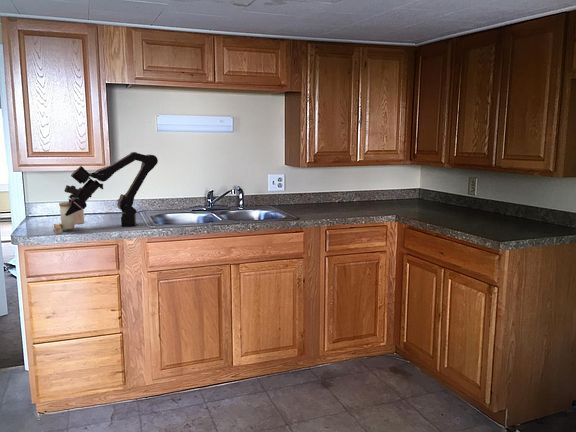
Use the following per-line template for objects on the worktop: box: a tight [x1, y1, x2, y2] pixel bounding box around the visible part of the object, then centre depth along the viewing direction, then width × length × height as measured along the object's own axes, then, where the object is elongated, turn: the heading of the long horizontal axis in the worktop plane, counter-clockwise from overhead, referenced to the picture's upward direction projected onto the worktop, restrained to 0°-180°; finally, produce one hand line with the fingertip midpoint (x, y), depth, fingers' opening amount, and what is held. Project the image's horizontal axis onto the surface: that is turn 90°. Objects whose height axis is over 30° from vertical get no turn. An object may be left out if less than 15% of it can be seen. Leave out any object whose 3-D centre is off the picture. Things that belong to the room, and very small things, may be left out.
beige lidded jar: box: [73, 207, 85, 225], centre depth 262 cm, size 12×9×12 cm
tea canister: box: [59, 201, 75, 230], centre depth 241 cm, size 6×6×12 cm
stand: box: [53, 223, 75, 235], centre depth 242 cm, size 9×12×3 cm
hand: (65, 214), depth 241 cm, fingers closed on tea canister, 6 cm apart
